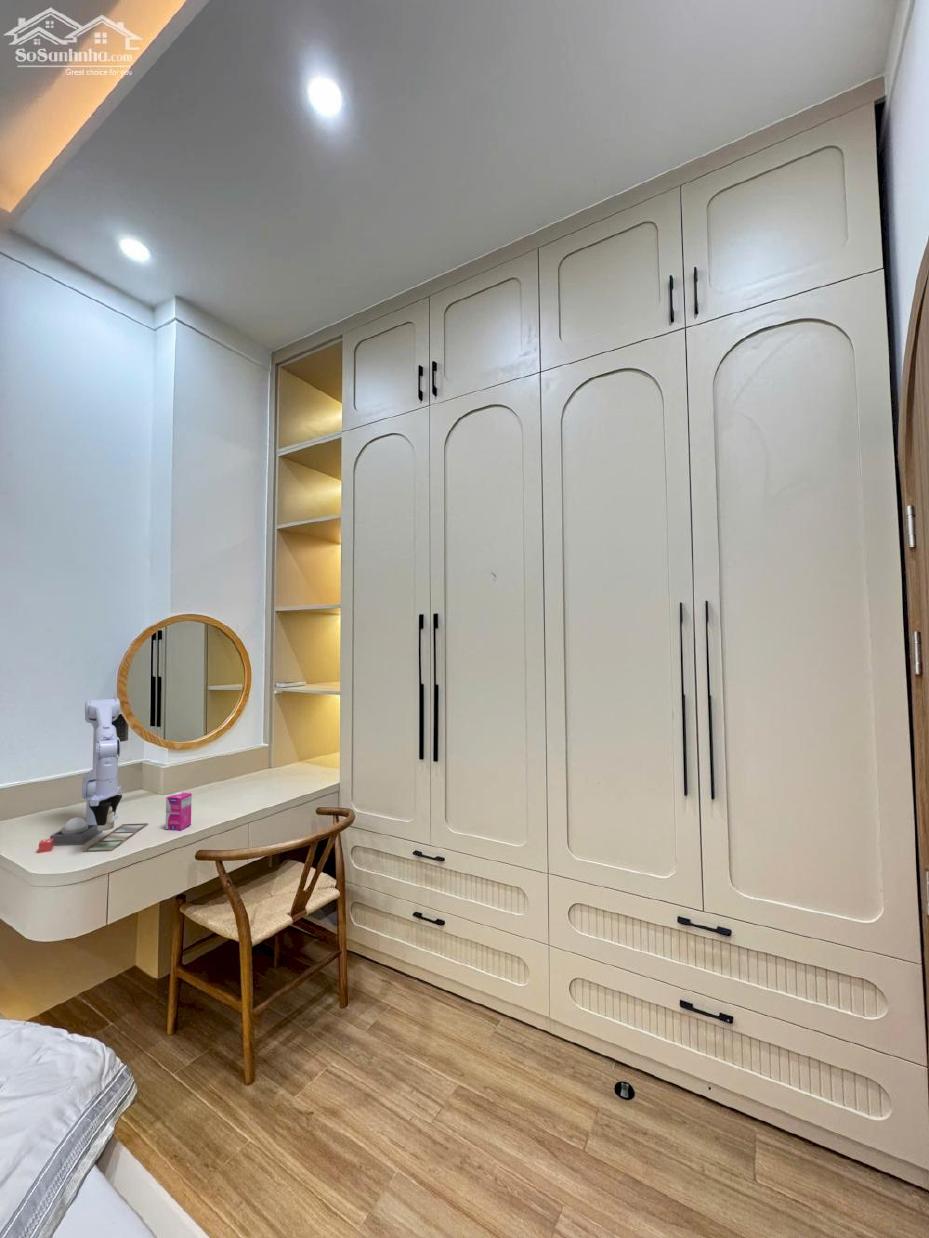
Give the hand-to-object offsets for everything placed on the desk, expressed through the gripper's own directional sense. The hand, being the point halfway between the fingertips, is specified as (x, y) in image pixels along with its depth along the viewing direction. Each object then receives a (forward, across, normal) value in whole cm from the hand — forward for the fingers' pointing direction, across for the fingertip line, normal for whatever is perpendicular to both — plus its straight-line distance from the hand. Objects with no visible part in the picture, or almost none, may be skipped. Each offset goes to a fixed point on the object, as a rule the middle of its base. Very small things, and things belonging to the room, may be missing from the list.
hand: (105, 822), depth 165 cm
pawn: (+2, 0, 0) cm, 2 cm away
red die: (+8, +1, -16) cm, 18 cm away
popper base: (+8, -8, -13) cm, 17 cm away
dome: (+6, -8, -13) cm, 16 cm away
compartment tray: (+8, -8, 0) cm, 11 cm away
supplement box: (+8, -14, +16) cm, 23 cm away
